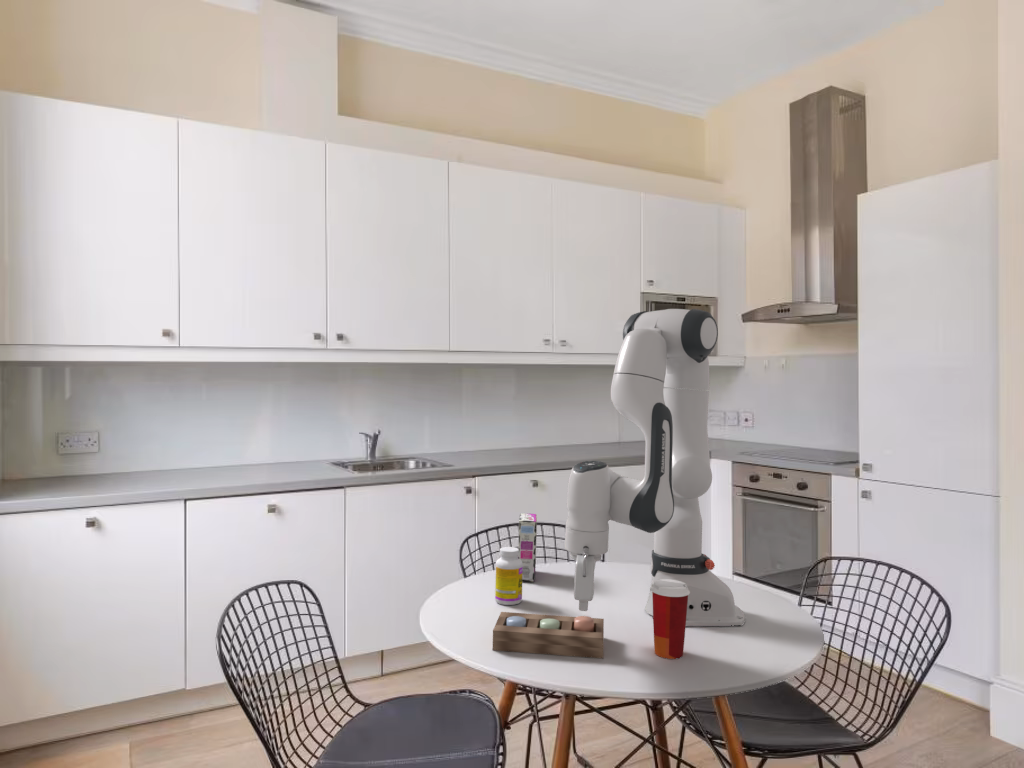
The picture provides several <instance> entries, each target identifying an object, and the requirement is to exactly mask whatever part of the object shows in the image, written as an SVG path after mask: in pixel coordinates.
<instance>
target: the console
mask: <svg viewBox="0 0 1024 768" xmlns="http://www.w3.org/2000/svg"><path fill="white" fill-rule="evenodd" d="M512 616H520V617H523V618H525V619H526V627H516V626H507V618H508V617H512ZM575 617H576V616H570V615H569V616H568V615H557V614H556V615H553V614H539V613H527V612H526V613H525V612H524V613H523V612H509V611H501V612H500V613H499V616H498V618H497V620H496V623H495V625H494V627H493V629H492V651H496V652H497V651H499V652H510V653H511V652H512V653H524V654H525V653H526V654H535V655H537V654H538V655H540V654H541V655H550V656H551V655H552V656H565V657H579V658H590V659H604V634H605V633H604V628H605V627H604V623H605V619H604V618H597V617H592V618H593V619H594V632H587V631H574V618H575ZM542 619H556V620H558V621H559V622H560V627H559V629H545V628H540V621H541V620H542Z"/></svg>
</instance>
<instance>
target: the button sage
mask: <svg viewBox="0 0 1024 768" xmlns="http://www.w3.org/2000/svg"><path fill="white" fill-rule="evenodd" d="M559 627H560V622H559V621H558V620H556V619H542V620H541V621H540V628H545V629H559Z"/></svg>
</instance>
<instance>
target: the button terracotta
mask: <svg viewBox="0 0 1024 768" xmlns="http://www.w3.org/2000/svg"><path fill="white" fill-rule="evenodd" d="M574 617H575V618H574V631H587V632H594V619H593V618H594V617H591V616H585V615H578V616H574Z"/></svg>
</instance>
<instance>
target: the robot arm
mask: <svg viewBox="0 0 1024 768" xmlns="http://www.w3.org/2000/svg"><path fill="white" fill-rule="evenodd" d="M622 329H623V330H622V339H623V341H622V343H621V346H620V349H619V351H618V355H617V358H616V362H615V365H614V371H613V375H612V379H611V386H610V401H611V403H612V404H613V408H615V410H616V411H617V412H618V414H620V415H621V416H622V417H623V418H625V419H626V420H628V421H629V422H631V423H633V424H634V425H635V426H636V427H638V428H639V430H640V431H641V432H642V434H643V437H644V441H645V444H644V445H645V449H644V451H645V452H644V476H643V478H642V479H638V478H637V479H636V478H632V477H628V476H623V475H621V474H619V473H617V472H615V471H613V470H612V469H611V468H610V467H609V465H608V464H607V462H604V461H600V460H589V461H588V460H585V461H580V462H578V463H576V464H575V465H573V467H572V468H571V470H570V474H569V478H568V481H567V482H568V483H567V492H566V509H567V518H566V522H565V531H564V532H565V535H564V550H566V551H567V552H569V553H570V554H569V556H570V558H571V559H572V560H575V568H574V583H573V584H574V585H573V586H574V588H573V598H574V600H576V601H578V610H579V611H580V612H587V611H588V610H589V609H588V608H589V602H591V601H593V599H594V589H595V588H594V587H595V586H594V585H595V568H596V562H599V561H601V560H602V555H605V554H607V553H608V552H609V551H608V550H609V539H610V538H609V536H610V535H609V533H610V532H609V531H610V525H609V521H613V522H616V523H617V524H623V525H626V526H629V527H634V529H635V528H636V529H638V530H640V531H643V532H645V533H648V534H649V533H650V534H653V550H651V556H650V572H651V582H650V586H649V587H650V588H651V587H652V584H654V582H655V581H657V580H662V579H669V580H677V581H681V582H684V583H685V584H686V585H687V587H688V590H689V591H690V594H689V595H688V603H687V615H686V627H735V626H734V625H741V626H743V625H744V624H745V623H744V621H745V622H746V618H745V617H746V616H745V613H744V611H743V610H742V609H741V608H740V607H739V606H737V605H736V604H735V598H734V594H733V592H732V590H731V588H730V586H728V585H727V584H726V582H724V581H723V580H721V578H719V577H718V576H716V574H715V573H713V572H712V571H711V570H714V569H715V566H716V565H715V563H714V561H713V560H712V559H711V558H710V557H709V556H707V555H706V554H704V553H702V547H703V518H702V515H701V509H700V501H699V498H700V497H702V496H703V495H705V494H706V493H707V492H708V490H709V489H710V488H711V485H712V482H713V473H712V470H711V459H710V457H711V456H710V442H709V433H708V431H709V430H708V415H709V414H708V413H709V399H710V398H709V397H710V377H711V376H710V363H709V355H710V354H711V353H712V352H713V350H714V348H715V346H716V344H717V341H718V337H719V331H718V324H717V321H716V319H715V318H714V316H713V315H712V314H711V313H710V312H709V311H706V310H702V309H698V308H697V309H696V308H693V309H683V308H667V309H660V310H654V311H653V310H652V311H647V310H644V311H639V312H636V313H633V314H631V315H630V316H629V318H628V319H627V320H626V321H625V323H624V326H623V328H622ZM650 588H649V593H648V598H647V601H646V604H645V608H644V610H645V612H646V613H647V614H649V615H650V616H652V617H653V597H652V591H651V590H650ZM743 623H744V624H743ZM742 624H743V625H742ZM731 625H732V626H731Z"/></svg>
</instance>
